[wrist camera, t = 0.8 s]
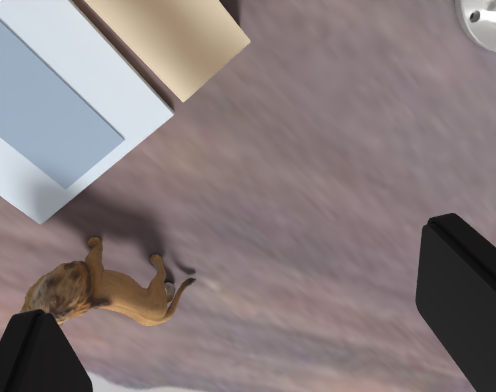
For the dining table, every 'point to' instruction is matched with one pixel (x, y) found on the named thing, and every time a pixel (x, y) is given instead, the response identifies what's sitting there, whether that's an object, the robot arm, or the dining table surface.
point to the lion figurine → (103, 291)
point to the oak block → (176, 37)
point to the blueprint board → (64, 105)
